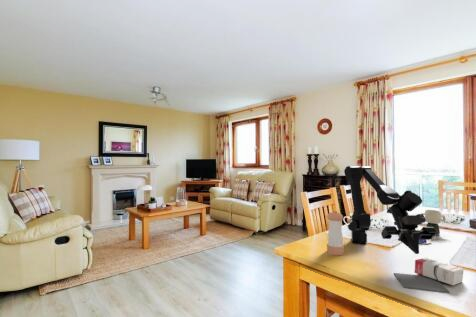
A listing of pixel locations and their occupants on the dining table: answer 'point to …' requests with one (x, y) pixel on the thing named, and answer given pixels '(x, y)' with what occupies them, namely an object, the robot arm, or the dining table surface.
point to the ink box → (439, 271)
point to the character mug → (433, 219)
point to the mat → (420, 282)
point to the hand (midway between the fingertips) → (417, 253)
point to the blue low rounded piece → (424, 241)
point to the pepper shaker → (335, 234)
